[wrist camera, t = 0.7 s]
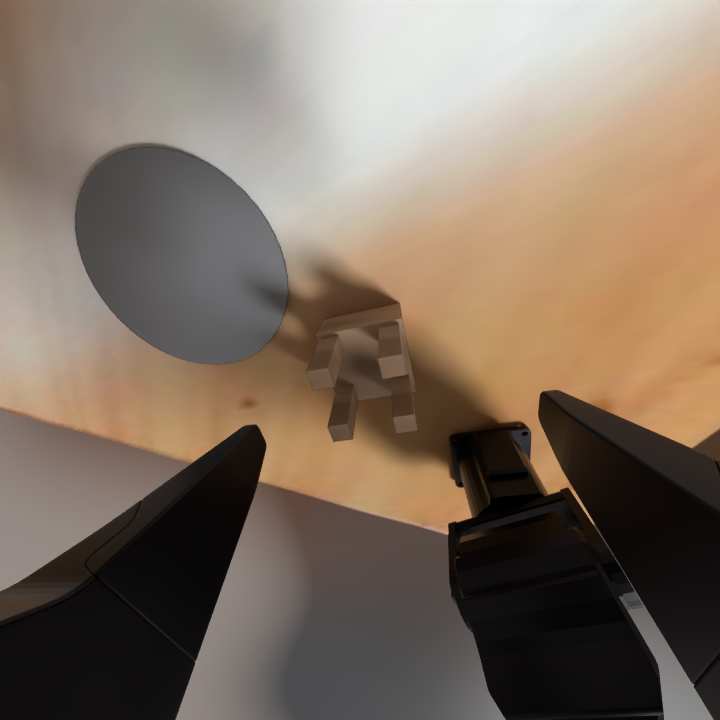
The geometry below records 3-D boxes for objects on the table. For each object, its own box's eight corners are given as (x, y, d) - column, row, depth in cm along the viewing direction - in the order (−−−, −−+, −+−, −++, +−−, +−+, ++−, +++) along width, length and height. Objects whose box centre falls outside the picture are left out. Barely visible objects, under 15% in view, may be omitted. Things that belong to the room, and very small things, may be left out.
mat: (315, 343, 22) (313, 346, 21) (159, 375, 24) (156, 377, 24) (232, 112, 15) (228, 110, 15) (32, 187, 18) (25, 187, 18)
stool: (412, 369, 22) (422, 433, 16) (344, 380, 23) (330, 445, 17) (399, 302, 20) (406, 348, 14) (324, 318, 21) (299, 368, 15)
